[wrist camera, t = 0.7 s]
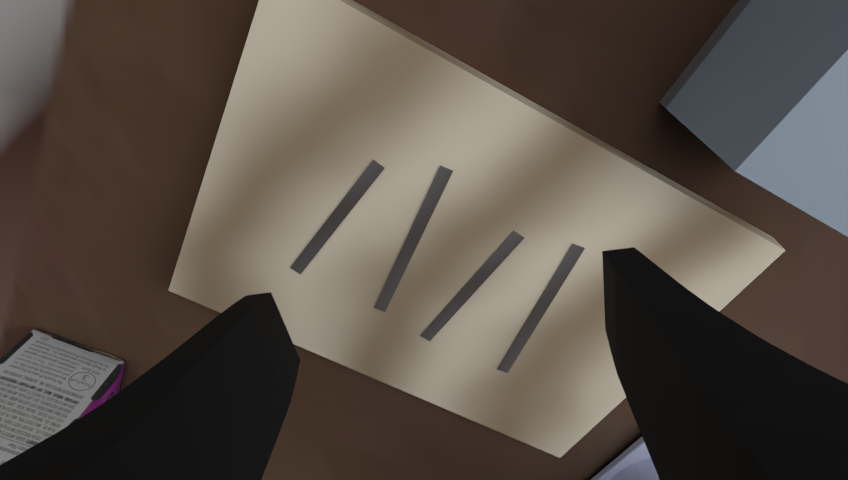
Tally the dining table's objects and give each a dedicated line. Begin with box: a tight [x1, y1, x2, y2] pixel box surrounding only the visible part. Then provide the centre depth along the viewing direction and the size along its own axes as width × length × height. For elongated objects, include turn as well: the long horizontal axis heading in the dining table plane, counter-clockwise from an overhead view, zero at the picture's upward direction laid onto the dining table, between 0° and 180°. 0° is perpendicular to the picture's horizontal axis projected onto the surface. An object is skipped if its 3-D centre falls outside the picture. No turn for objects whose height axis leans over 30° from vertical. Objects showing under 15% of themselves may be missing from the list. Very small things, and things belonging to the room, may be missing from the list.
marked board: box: [168, 0, 786, 458], centre depth 21 cm, size 20×14×1 cm
